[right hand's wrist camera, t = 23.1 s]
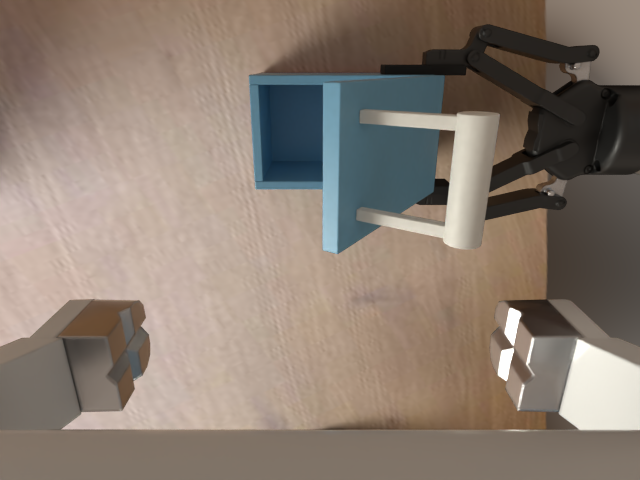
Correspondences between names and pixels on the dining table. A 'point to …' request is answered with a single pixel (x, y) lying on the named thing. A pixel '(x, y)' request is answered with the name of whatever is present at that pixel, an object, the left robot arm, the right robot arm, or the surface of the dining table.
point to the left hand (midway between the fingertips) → (379, 131)
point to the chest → (291, 127)
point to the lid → (401, 160)
